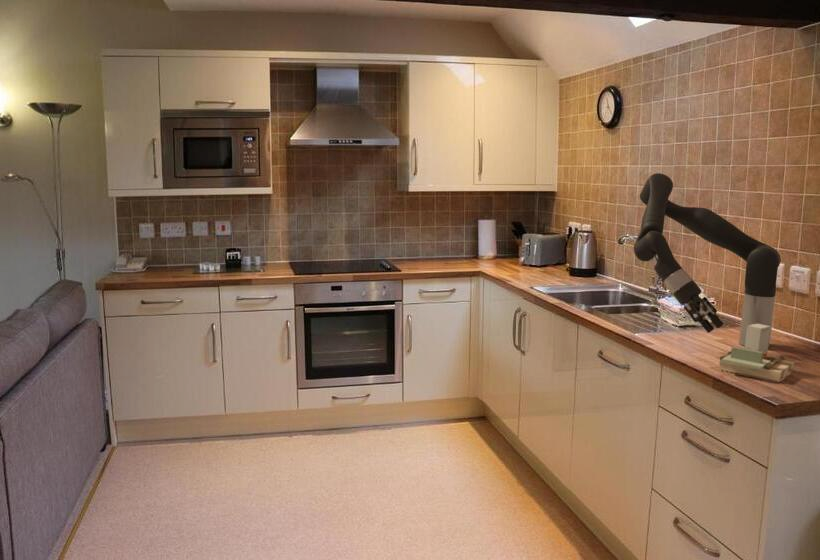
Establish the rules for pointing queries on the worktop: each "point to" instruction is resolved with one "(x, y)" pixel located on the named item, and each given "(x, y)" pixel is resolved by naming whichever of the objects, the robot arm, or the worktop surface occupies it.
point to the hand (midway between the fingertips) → (716, 328)
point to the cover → (746, 358)
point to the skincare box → (758, 338)
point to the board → (771, 372)
